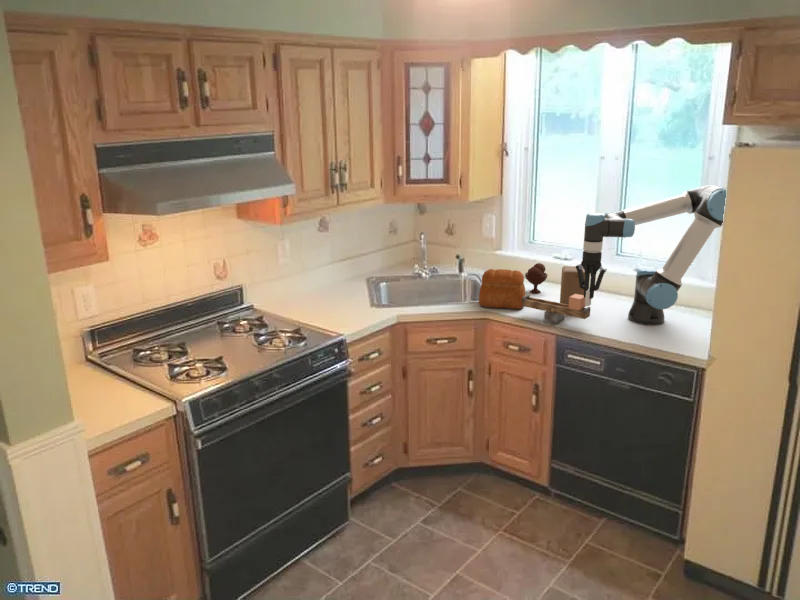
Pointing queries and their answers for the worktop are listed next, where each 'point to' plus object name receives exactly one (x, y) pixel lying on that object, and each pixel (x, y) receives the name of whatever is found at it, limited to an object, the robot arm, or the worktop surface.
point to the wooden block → (570, 284)
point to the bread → (502, 289)
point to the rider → (577, 302)
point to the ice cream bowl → (536, 276)
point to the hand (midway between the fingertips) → (587, 305)
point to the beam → (554, 310)
